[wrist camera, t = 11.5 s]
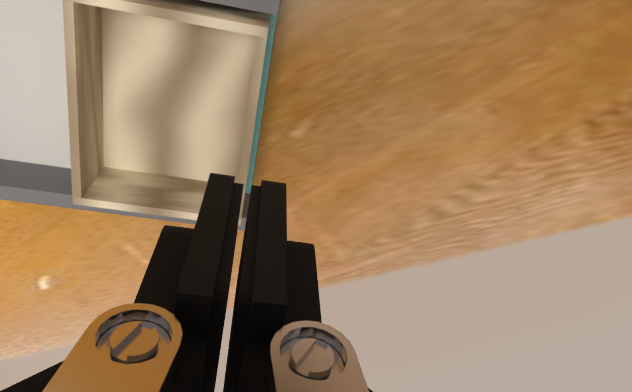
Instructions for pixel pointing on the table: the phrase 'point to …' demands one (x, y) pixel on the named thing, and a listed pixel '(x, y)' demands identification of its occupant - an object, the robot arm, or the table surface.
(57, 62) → the bay
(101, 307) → the table surface
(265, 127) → the table surface
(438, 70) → the table surface
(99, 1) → the crate
